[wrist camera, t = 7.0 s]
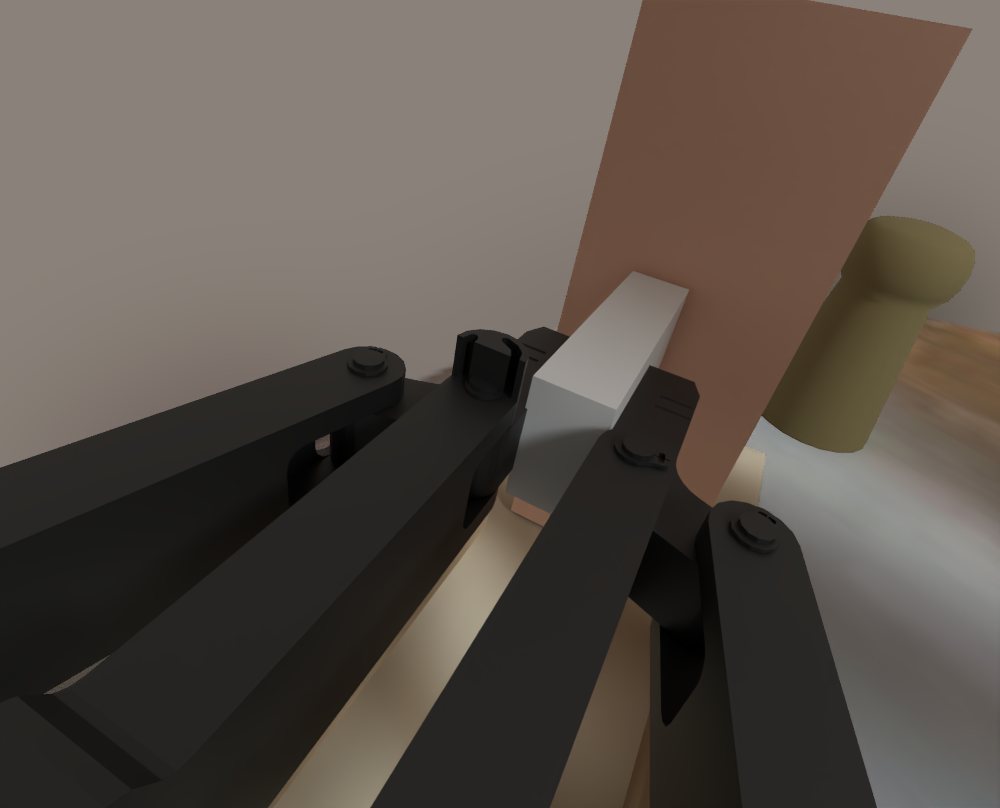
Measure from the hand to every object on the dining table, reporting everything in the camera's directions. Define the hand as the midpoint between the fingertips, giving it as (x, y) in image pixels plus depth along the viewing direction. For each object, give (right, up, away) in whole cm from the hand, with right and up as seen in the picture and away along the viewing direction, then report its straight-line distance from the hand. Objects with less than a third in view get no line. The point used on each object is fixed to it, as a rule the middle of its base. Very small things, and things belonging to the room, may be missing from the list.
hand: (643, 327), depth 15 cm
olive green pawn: (+14, -3, +17) cm, 22 cm away
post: (0, -6, +8) cm, 10 cm away
